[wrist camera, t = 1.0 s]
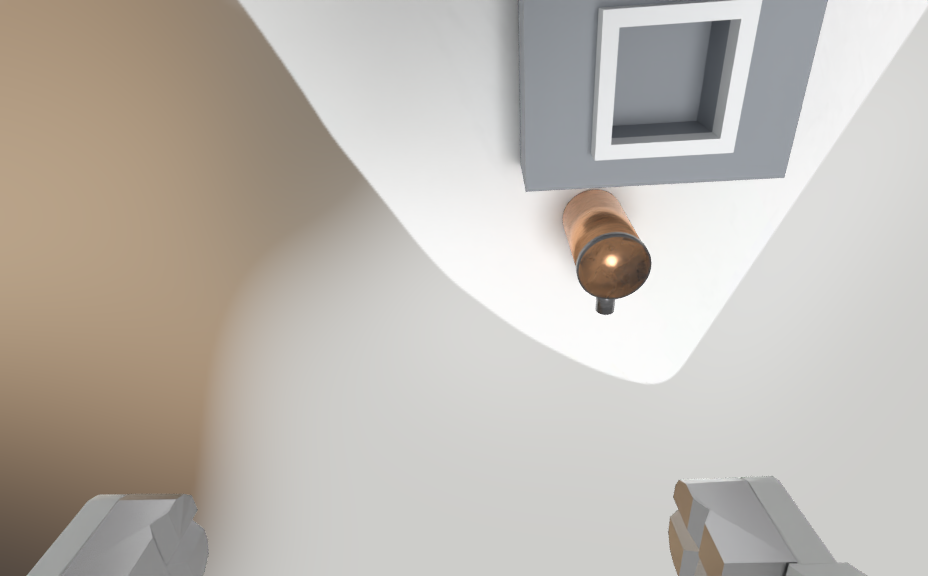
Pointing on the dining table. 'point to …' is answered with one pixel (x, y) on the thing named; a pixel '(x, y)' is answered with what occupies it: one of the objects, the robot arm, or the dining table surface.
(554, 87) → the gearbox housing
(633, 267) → the spout can
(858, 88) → the dining table surface
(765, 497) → the robot arm
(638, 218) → the dining table surface
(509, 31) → the dining table surface
